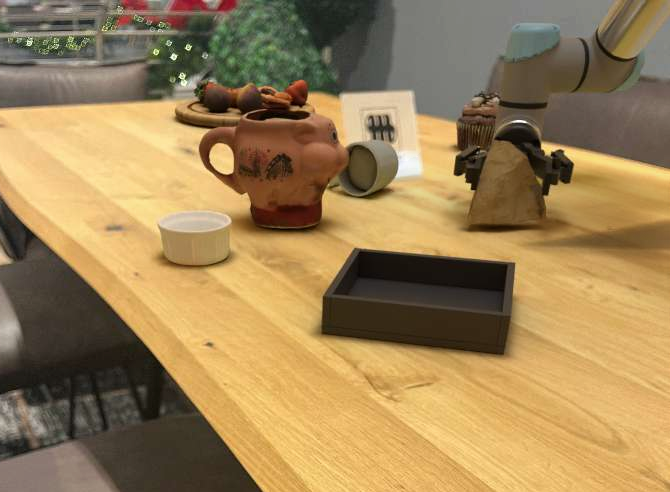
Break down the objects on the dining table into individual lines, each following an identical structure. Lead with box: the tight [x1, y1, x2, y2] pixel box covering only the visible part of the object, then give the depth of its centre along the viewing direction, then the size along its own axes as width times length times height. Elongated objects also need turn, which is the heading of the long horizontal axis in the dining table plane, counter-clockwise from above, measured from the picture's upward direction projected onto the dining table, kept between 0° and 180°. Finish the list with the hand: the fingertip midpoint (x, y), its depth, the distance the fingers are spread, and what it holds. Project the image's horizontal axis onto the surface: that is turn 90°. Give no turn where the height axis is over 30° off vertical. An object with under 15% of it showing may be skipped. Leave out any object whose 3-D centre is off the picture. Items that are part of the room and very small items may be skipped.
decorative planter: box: [198, 109, 349, 229], centre depth 102 cm, size 20×12×14 cm, turn 91°
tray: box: [321, 247, 516, 355], centre depth 78 cm, size 18×16×4 cm
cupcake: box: [455, 90, 501, 151], centre depth 147 cm, size 10×10×10 cm
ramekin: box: [157, 210, 232, 267], centre depth 93 cm, size 9×9×4 cm
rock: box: [466, 140, 547, 225], centre depth 103 cm, size 11×9×10 cm
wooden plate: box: [174, 78, 316, 128], centre depth 173 cm, size 32×32×8 cm
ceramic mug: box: [328, 139, 400, 198], centre depth 119 cm, size 11×8×8 cm
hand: (510, 182), depth 98 cm, fingers closed on rock, 8 cm apart
